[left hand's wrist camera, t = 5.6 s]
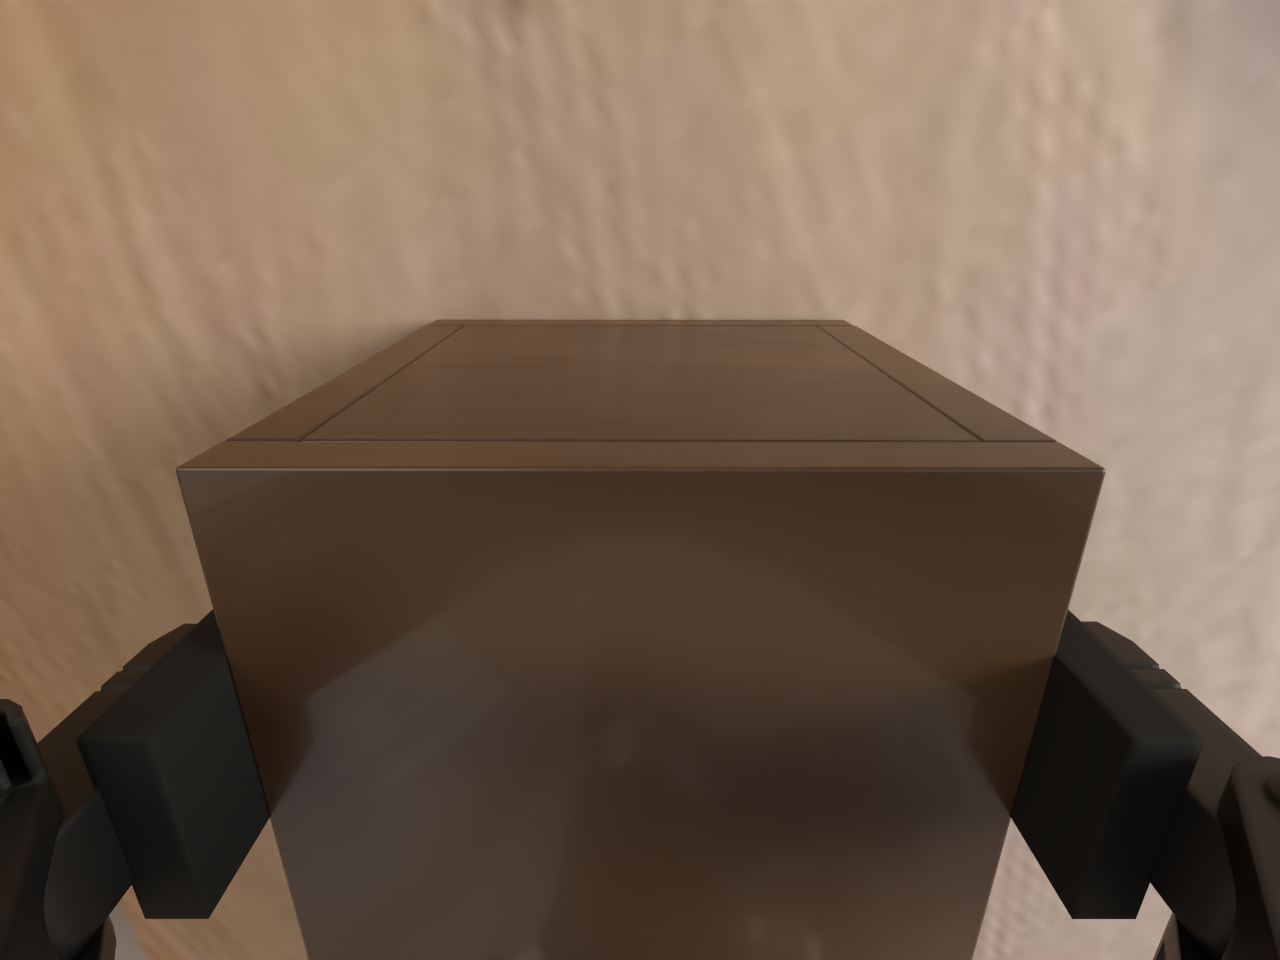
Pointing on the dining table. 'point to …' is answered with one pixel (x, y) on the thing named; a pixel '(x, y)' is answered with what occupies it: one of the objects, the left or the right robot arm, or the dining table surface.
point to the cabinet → (640, 640)
